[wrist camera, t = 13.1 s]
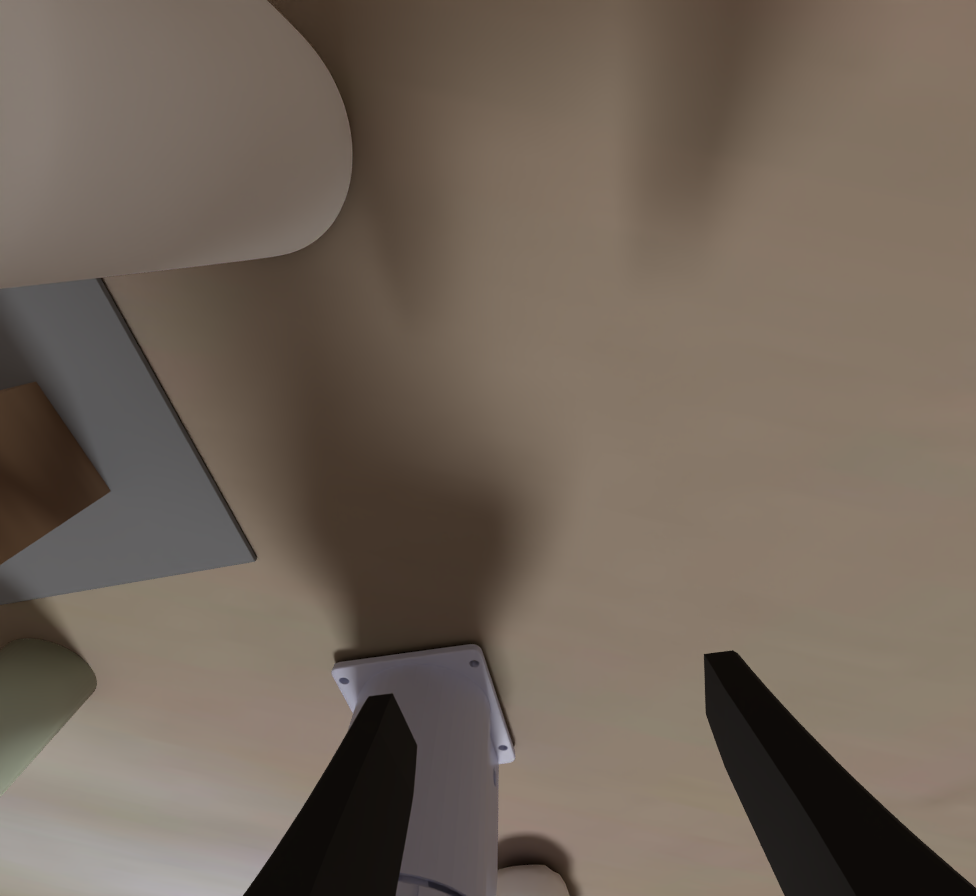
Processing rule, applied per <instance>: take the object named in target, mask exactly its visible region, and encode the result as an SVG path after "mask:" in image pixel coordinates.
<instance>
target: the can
mask: <svg viewBox="0 0 976 896" xmlns="http://www.w3.org/2000/svg"><path fill="white" fill-rule="evenodd" d="M352 159H353V153H352V138H351V131H350V126H349V121H348V117H347V113H346V110H345V106H344V103H343V100H342V98H341V95H340V93H339V90H338V88H337V86H336V84H335V82H334V80H333V78H332V76H331V74H330V72H329V71H328V69H327V67H326V66H325V64H324V63H323V61H322V60H321V58H320V57H319V55H318V54H317V53H316V51H315V50H314V49H313V48H312V46H311V45H310V44H309V43H308V42H307V40H306V39H305V38H304V37H303V36H302V35H301V34H300V33H299V32H298V31H297V30H296V29H295V28H294V27H293V25H292V24H291V23H290V22H289V21H288V20H287V19H286V18H285V17H284V16H283V15H282V14H281V13H280V12H279V11H278V10H277V9H276V8H275V7H274V6H273V5H272V4H270V3H269V2H268V1H267V0H0V289H3V288H12V287H21V286H31V285H40V284H50V283H59V282H67V281H76V280H85V279H94V278H103V277H111V276H120V275H129V274H138V273H146V272H155V271H163V270H172V269H180V268H189V267H197V266H205V265H214V264H222V263H230V262H238V261H246V260H254V259H261V258H269V257H275V256H281V255H286V254H289V253H292V252H295V251H298V250H300V249H303V248H305V247H307V246H308V245H310V244H312V243H313V242H314V241H316V240H317V239H318V238H320V237H321V236H322V235H323V234H324V233H325V232H326V231H327V230H328V229H329V227H330V226H331V225H332V224H333V222H334V221H335V219H336V218H337V216H338V214H339V212H340V210H341V208H342V206H343V204H344V201H345V199H346V196H347V193H348V189H349V185H350V180H351V173H352Z"/></svg>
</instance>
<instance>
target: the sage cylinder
mask: <svg viewBox="0 0 976 896" xmlns="http://www.w3.org/2000/svg"><path fill="white" fill-rule="evenodd" d="M96 686H97V680H96V676H95V674H94V672H93V670H92V669H91V667H90V666H89V665H88V664H87V663H86V662H85V661H84V660H83V659H82V658H81V657H79V656H78V655H77V654H75V653H74V652H72V651H70V650H69V649H67V648H65V647H63V646H60V645H58V644H55V643H52V642H49V641H45V640H40V639H32V638H25V639H18V640H14V641H11V642H9V643H8V644H6V645H5V646H4V647H3V648H2V649H0V797H1V796H2V795H3V794H4V792H5V791H6V790H7V789H8V788H9V787H10V786H11V785H12V783H13V782H14V781H15V780H16V779H17V778H18V777H19V776H20V774H21V773H22V772H23V771H24V770H25V769H26V768H27V767H28V765H29V764H30V763H31V762H32V761H33V760H34V759H35V758H36V756H37V755H38V754H39V753H40V752H41V751H42V750H43V749H44V747H45V746H46V745H47V744H48V743H49V742H50V741H51V740H52V738H53V737H54V736H55V735H56V734H57V733H58V732H59V731H60V729H61V728H62V727H63V726H64V725H65V724H66V723H67V722H68V720H69V719H70V718H71V717H72V716H73V715H74V714H75V713H76V711H77V710H78V709H79V708H80V707H81V706H82V705H83V704H84V702H85V701H86V700H87V699H88V698H89V697H90V696H91V695H92V693H93V692H94V691H95V689H96Z"/></svg>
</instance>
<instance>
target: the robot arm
mask: <svg viewBox="0 0 976 896" xmlns="http://www.w3.org/2000/svg"><path fill="white" fill-rule="evenodd" d="M473 660H476V661H473ZM704 670H705V702H706V716H707V718H708V721H709V724H710V727H711V730H712V733H713V735H714V738H715V741H716V744H717V747H718V749H719V752H720V755H721V757H722V760H723V763H724V766H725V768H726V770H727V772H728V775H729V777H730V779H731V781H732V783H733V786H734V788H735V790H736V792H737V794H738V796H739V799H740V801H741V803H742V805H743V807H744V809H745V812H746V814H747V816H748V818H749V820H750V822H751V824H752V827H753V829H754V831H755V833H756V835H757V837H758V839H759V842H760V844H761V846H762V848H763V850H764V852H765V854H766V857H767V859H768V861H769V863H770V865H771V867H772V870H773V872H774V874H775V876H776V878H777V880H778V882H779V885H780V887H781V889H782V891H783V893H784V895H785V896H976V888H975V887H974V886H973V885H972V884H971V883H969V882H968V881H967V880H966V879H965V878H963V877H962V876H961V875H960V874H959V873H958V872H957V871H955V870H954V869H953V868H952V867H951V866H950V865H948V864H947V863H946V862H945V861H944V860H943V859H942V858H940V857H939V856H938V855H937V854H936V853H935V852H934V851H932V850H931V849H930V848H929V847H928V846H927V845H926V844H924V843H923V842H922V841H921V840H920V839H919V838H918V837H917V836H916V835H914V834H913V833H912V832H911V831H910V830H909V829H908V828H907V827H906V826H904V825H903V824H902V823H901V822H900V821H899V820H898V819H897V818H896V817H895V816H894V815H892V814H891V813H890V812H889V811H888V810H887V809H886V808H885V807H884V806H883V805H882V804H881V803H880V802H879V801H878V800H876V799H875V798H874V797H873V796H872V795H871V794H870V793H869V792H868V791H867V790H866V789H865V788H864V787H863V786H862V785H861V784H860V783H859V782H857V781H856V780H855V779H854V778H853V777H852V776H851V775H850V774H849V773H848V772H847V771H846V770H845V769H844V768H843V767H842V766H841V765H840V764H839V763H838V762H837V761H836V760H835V759H834V758H833V757H832V756H831V755H830V754H829V753H828V752H827V751H826V750H825V749H824V748H823V747H822V746H821V745H820V744H819V743H818V742H817V741H816V739H815V738H814V737H813V736H812V735H811V734H810V733H809V732H808V731H807V730H806V729H805V728H804V727H803V726H802V725H801V724H800V723H799V722H798V721H797V720H796V719H795V718H794V717H793V716H792V715H791V713H790V712H789V711H788V710H787V709H786V708H785V707H784V706H783V705H782V704H781V703H780V701H779V700H778V699H777V698H776V697H775V696H774V695H773V694H772V693H771V692H770V690H769V689H768V688H767V687H766V686H765V685H764V684H763V683H762V681H761V680H760V679H759V678H758V677H757V676H756V674H755V673H754V672H753V671H752V670H751V669H750V667H749V666H748V665H747V664H746V663H745V661H744V660H743V659H742V658H741V657H740V655H739V654H738V653H736V652H735V651H725V652H717V653H709V654H704ZM331 673H332V676H333V678H334V679H335V681H336V683H337V685H338V687H339V689H340V690H341V692H342V694H343V696H344V698H345V700H346V701H347V703H348V705H349V707H350V709H351V711H352V712H353V716H352V719H351V722H350V726H349V729H348V732H347V734H346V736H345V738H344V739H343V741H342V743H341V745H340V746H339V748H338V750H337V751H336V753H335V755H334V756H333V758H332V760H331V762H330V763H329V765H328V767H327V768H326V770H325V772H324V773H323V775H322V777H321V778H320V780H319V781H318V783H317V785H316V786H315V788H314V790H313V791H312V793H311V795H310V796H309V798H308V800H307V801H306V803H305V804H304V806H303V808H302V809H301V811H300V812H299V814H298V815H297V817H296V818H295V820H294V822H293V823H292V825H291V826H290V828H289V829H288V831H287V832H286V834H285V835H284V837H283V838H282V840H281V841H280V843H279V844H278V846H277V847H276V849H275V851H274V852H273V854H272V855H271V856H270V858H269V859H268V861H267V862H266V864H265V865H264V867H263V868H262V870H261V871H260V872H259V874H258V875H257V877H256V878H255V880H254V881H253V882H252V884H251V885H250V887H249V888H248V889H247V891H246V892H245V894H244V895H243V896H496V891H497V878H498V773H499V764H503V763H510V762H512V761H514V760H515V750H514V747H513V744H512V740H511V737H510V734H509V731H508V728H507V725H506V722H505V719H504V716H503V713H502V710H501V707H500V704H499V701H498V698H497V695H496V692H495V688H494V685H493V682H492V679H491V676H490V673H489V670H488V667H487V664H486V661H485V658H484V655H483V652H482V649H481V648H480V647H479V646H478V645H475V644H468V645H461V646H453V647H446V648H439V649H431V650H424V651H417V652H409V653H402V654H395V655H387V656H380V657H373V658H365V659H358V660H351V661H343V662H338V663H336V664H335V665H334V667H333V669H332V672H331Z"/></svg>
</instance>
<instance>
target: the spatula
mask: <svg viewBox="0 0 976 896" xmlns="http://www.w3.org/2000/svg"><path fill="white" fill-rule="evenodd" d="M496 896H570V895H569V893H568V890H567V887H566V884H565V882H564V881H563V879H562V877H561V876H560V874H558V873H556V872H553V871H552V870H551V869H549V868H548V867H547V866H546V865H519V866H511V867H506V868H502V869H499V870H498V878H497V891H496Z"/></svg>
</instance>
